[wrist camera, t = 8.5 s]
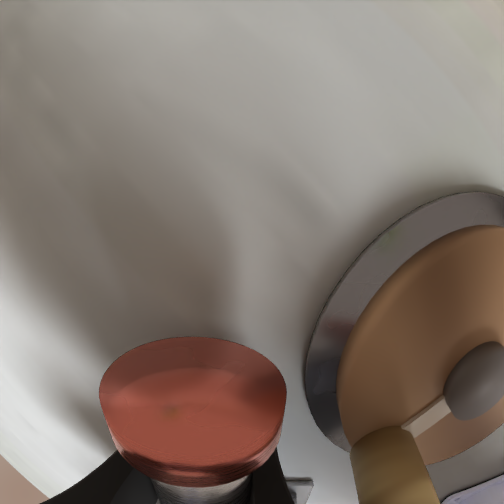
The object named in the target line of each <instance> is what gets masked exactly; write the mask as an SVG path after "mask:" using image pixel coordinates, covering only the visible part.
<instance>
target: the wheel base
mask: <svg viewBox="0 0 504 504" xmlns="http://www.w3.org/2000/svg"><path fill="white" fill-rule="evenodd" d="M475 225H496V226H501V227H504V197H502V196H499V195H496V194H490V193H482V192H466V193H457V194H453V195H449V196H445V197H441V198H439V199H436V200H434V201H432V202H429V203H427V204H425V205H422V206H420V207H418V208H417V209H415V210H414V211H412V212H410V213H409V214H407V215H405V216H404V217H402V218H400V219H399V220H398V221H397V222H395V223H394V224H393V225H392V226H390V227H389V228H388V229H386V230H385V231H384V232H383V233H381V234H380V235H379V236H378V237H377V238H376V239H375V240H374V241H373V242H372V243H371V244H370V245H369V246H368V247H367V248H366V249H365V250H364V251H363V252H362V253H361V254H360V255H359V257H358V258H357V259H356V260H355V262H354V263H353V264H352V265H351V266H350V268H349V269H348V270H347V271H346V272H345V274H344V275H343V277H342V278H341V280H340V281H339V283H338V285H337V286H336V288H335V289H334V291H333V292H332V294H331V295H330V297H329V299H328V301H327V303H326V305H325V307H324V309H323V311H322V313H321V315H320V316H319V319H318V322H317V324H316V327H315V330H314V332H313V335H312V338H311V342H310V346H309V350H308V355H307V361H306V373H305V380H306V393H307V400H308V403H309V407H310V411H311V414H312V416H313V418H314V420H315V422H316V424H317V426H318V427H319V428H320V430H321V431H322V432H323V434H324V435H325V436H326V437H327V438H328V439H329V440H330V441H332V442H333V443H334V444H335V445H337V446H338V447H340V448H342V449H343V450H345V451H347V452H350V451H351V449H352V447H351V445H350V444H349V442H348V440H347V438H346V436H345V434H344V430H343V425H342V421H341V417H340V412H339V408H338V403H337V399H336V379H337V370H338V366H339V362H340V359H341V355H342V352H343V349H344V347H345V344H346V342H347V339H348V337H349V335H350V333H351V331H352V329H353V327H354V325H355V323H356V321H357V320H358V318H359V316H360V315H361V313H362V312H363V310H364V309H365V307H366V306H367V304H368V303H369V301H370V300H371V298H372V297H373V296H374V295H375V293H376V292H377V291H378V290H379V289H380V287H381V286H382V285H383V283H384V282H385V281H386V280H387V279H388V278H389V277H390V276H391V275H392V274H393V273H394V272H395V271H396V270H397V269H398V268H399V267H400V266H401V265H402V264H403V263H405V262H406V261H407V260H408V259H409V258H410V257H412V256H413V255H414V254H415V253H416V252H418V251H419V250H421V249H422V248H424V247H425V246H427V245H428V244H430V243H431V242H433V241H434V240H436V239H438V238H440V237H442V236H444V235H446V234H448V233H450V232H453V231H456V230H459V229H461V228H464V227H469V226H475Z"/></svg>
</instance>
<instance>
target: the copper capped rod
mask: <svg viewBox="0 0 504 504" xmlns="http://www.w3.org/2000/svg"><path fill="white" fill-rule="evenodd" d="M286 394H287V391H286V384H285V381H284V379H283V376H282V375H281V373H280V371H279V370H278V369H277V367H276V366H275V365H274V364H273V363H272V362H271V361H270V360H269V359H267V358H266V357H264V356H263V355H262V354H260V353H258V352H256V351H255V350H253V349H250V348H248V347H246V346H243V345H240V344H237V343H234V342H230V341H226V340H221V339H215V338H207V337H177V338H169V339H163V340H158V341H154V342H150V343H147V344H144V345H141V346H139V347H136V348H134V349H132V350H130V351H128V352H126V353H125V354H123V355H122V356H120V357H119V358H118V359H117V360H116V361H114V362H113V363H112V364H111V365H110V367H109V368H108V369H107V371H106V372H105V374H104V375H103V378H102V380H101V383H100V388H99V399H100V404H101V407H102V410H103V413H104V416H105V419H106V422H107V425H108V428H109V431H110V434H111V436H112V439H113V442H114V444H115V446H116V448H117V450H118V451H119V453H120V454H121V455H122V457H123V458H124V459H125V460H126V461H127V462H128V463H129V464H130V465H131V466H132V467H134V468H135V469H136V470H138V471H139V472H141V473H143V474H144V475H146V476H148V477H150V478H151V481H152V484H153V486H154V489H155V492H156V494H157V497H158V499H159V502H160V504H249V496H250V486H251V475H252V472H254V471H255V470H256V469H258V468H259V467H261V466H262V465H263V464H264V463H265V462H266V461H267V460H268V459H269V457H270V456H271V455H272V453H273V452H274V450H275V448H276V446H277V444H278V442H279V438H280V435H281V429H282V423H283V416H284V410H285V404H286Z"/></svg>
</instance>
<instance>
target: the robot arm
mask: <svg viewBox="0 0 504 504" xmlns="http://www.w3.org/2000/svg"><path fill="white" fill-rule="evenodd" d="M157 500H158V497H157V494H156V492H155V489H154V486H153V484H152V481H151V478H150V477H148V476H146V475H144V474H143V473H141V472H139V471H138V470H136V469H135V468H134V467H132V466H131V465H130V464H129V463H128V462H127V461H126V460H125V459H124V458H123V457H122V455H121V454H120V453H119V451H118V450H117V451H116V452H115V453H114V454H112V455H111V456H110V457H109V458H108V459H107V460H106V461H105V462H104V463H102V464H101V465H100V466H99V467H98V468H96V469H95V470H94V471H93V472H91V473H90V474H89V475H87V476H86V477H85V478H84V479H82V480H81V481H79V482H78V483H76V484H75V485H73V486H72V487H70V488H69V489H67V490H65V491H64V492H62V493H60V494H58V495H56V496H54V497H53V498H51V499H49V500H47V501H45V502H42V503H40V504H156V503H157ZM249 504H295V503H294V501H293V499H292V496H291V494H290V491H289V489H288V486H287V484H286V481H285V478H284V475H283V472H282V469H281V465H280V462H279V458H278V453H277V447H276V448H275V450H274V452H273V453H272V455H271V456H270V457H269V459H268V460H267V461H266V462H265V463H264V464H263V465H262V466H261V467H259V468H258V469H256V470H255V471H254V472H252V475H251V486H250V496H249ZM442 504H504V474H503V475H501V476H499V477H497V478H494V479H492V480H490V481H487V482H485V483H483V484H480V485H478V486H475V487H472V488H470V489H467V490H464V491H461V492H459V493H456V494H453V495H451V496H449V497H447V498H446V499H445V500H444V501H443V502H442Z"/></svg>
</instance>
